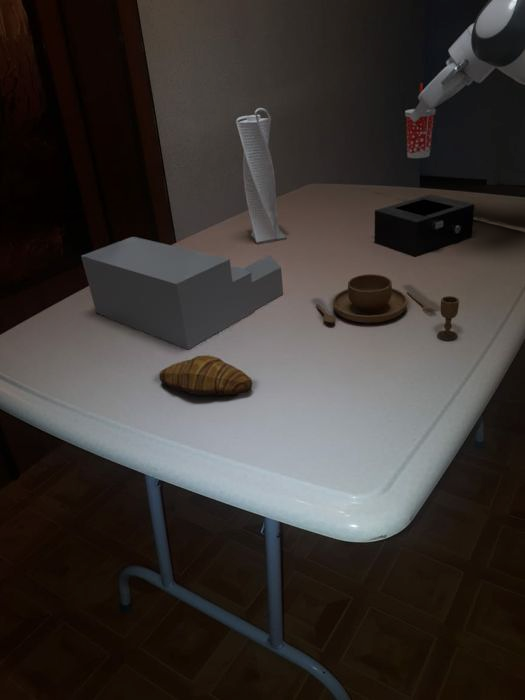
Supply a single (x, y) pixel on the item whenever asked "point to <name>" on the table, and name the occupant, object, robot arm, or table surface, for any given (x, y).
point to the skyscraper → (259, 178)
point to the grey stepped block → (176, 289)
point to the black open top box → (423, 224)
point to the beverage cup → (419, 133)
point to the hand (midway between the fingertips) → (417, 116)
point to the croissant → (206, 377)
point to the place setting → (383, 303)
